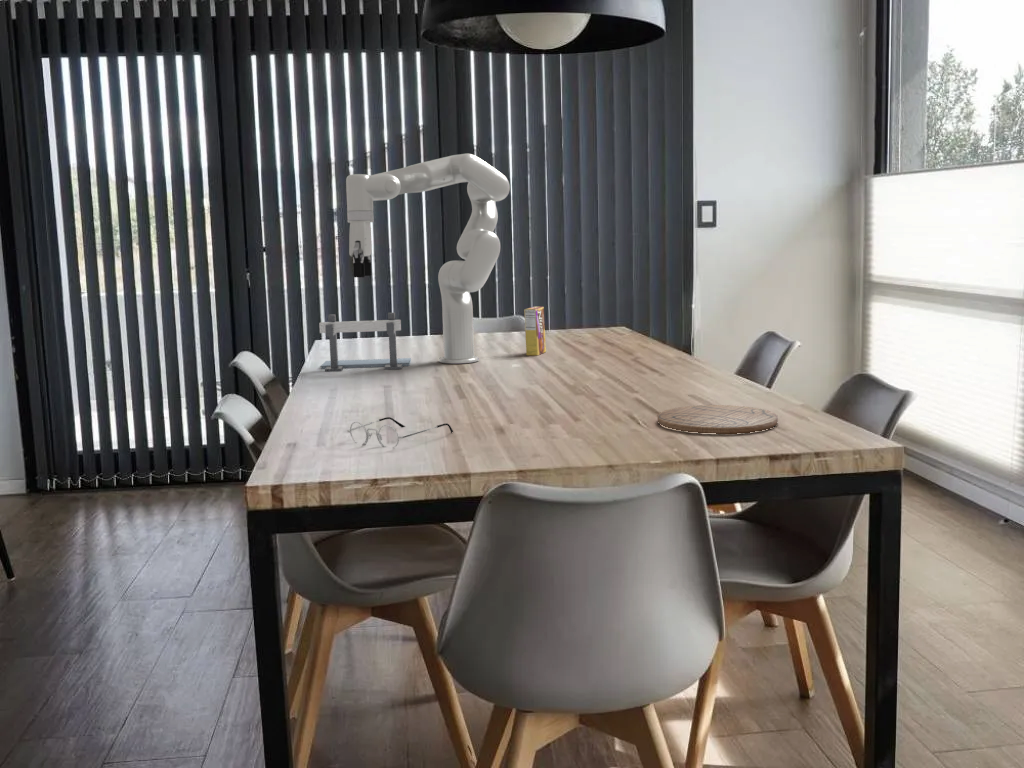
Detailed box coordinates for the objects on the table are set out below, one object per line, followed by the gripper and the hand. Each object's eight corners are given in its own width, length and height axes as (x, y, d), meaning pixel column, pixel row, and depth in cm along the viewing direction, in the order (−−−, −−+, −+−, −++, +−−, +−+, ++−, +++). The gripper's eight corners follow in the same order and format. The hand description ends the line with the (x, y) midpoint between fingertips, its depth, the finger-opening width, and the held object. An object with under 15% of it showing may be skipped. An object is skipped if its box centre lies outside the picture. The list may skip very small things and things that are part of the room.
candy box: (533, 352, 341) (532, 306, 338) (546, 352, 339) (545, 306, 337) (525, 355, 332) (523, 308, 330) (537, 355, 331) (536, 308, 328)
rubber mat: (326, 363, 326) (326, 360, 326) (411, 361, 327) (410, 358, 327) (321, 368, 315) (321, 365, 315) (409, 365, 316) (408, 362, 316)
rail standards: (327, 368, 314) (324, 314, 312) (402, 366, 315) (399, 312, 313) (323, 373, 305) (319, 317, 302) (400, 371, 306) (397, 314, 303)
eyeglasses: (341, 444, 208) (339, 420, 207) (400, 428, 223) (399, 405, 222) (401, 452, 199) (400, 427, 198) (459, 435, 214) (458, 411, 213)
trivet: (694, 409, 234) (694, 401, 234) (797, 420, 219) (797, 411, 218) (635, 428, 215) (635, 419, 215) (743, 442, 200) (743, 432, 199)
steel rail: (320, 332, 307) (320, 322, 306) (401, 329, 308) (400, 319, 307) (319, 333, 304) (319, 323, 304) (400, 330, 305) (400, 320, 305)
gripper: (354, 218, 307) (356, 275, 309) (341, 217, 290) (343, 278, 292) (378, 217, 306) (380, 275, 309) (367, 217, 289) (369, 277, 292)
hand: (362, 276), depth 301 cm, fingers open, 9 cm apart
